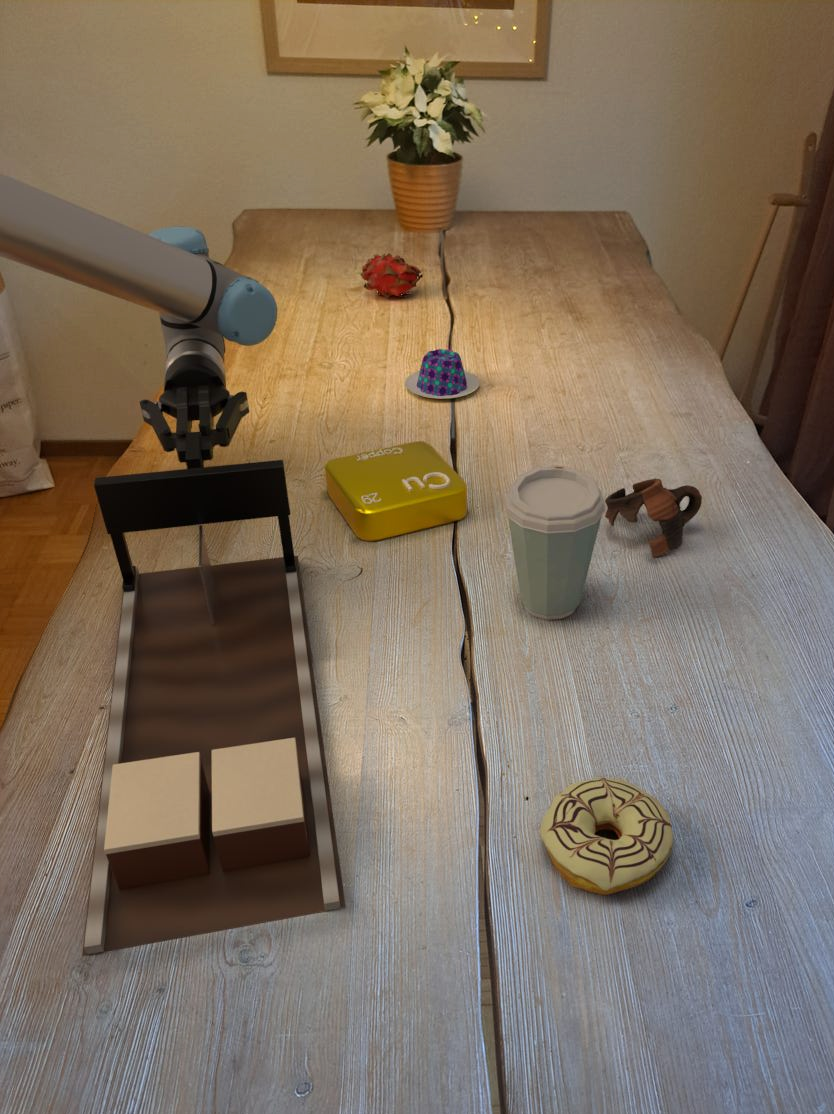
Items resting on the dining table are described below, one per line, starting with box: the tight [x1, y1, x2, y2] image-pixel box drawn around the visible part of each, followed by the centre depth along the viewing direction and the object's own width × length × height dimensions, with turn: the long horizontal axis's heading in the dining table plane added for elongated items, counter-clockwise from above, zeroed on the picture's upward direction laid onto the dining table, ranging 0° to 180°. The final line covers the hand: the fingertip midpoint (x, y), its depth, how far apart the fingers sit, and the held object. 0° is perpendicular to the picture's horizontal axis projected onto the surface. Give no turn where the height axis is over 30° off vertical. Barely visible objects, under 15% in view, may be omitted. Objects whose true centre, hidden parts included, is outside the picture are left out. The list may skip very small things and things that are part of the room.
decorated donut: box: [539, 777, 674, 896], centre depth 78 cm, size 10×11×4 cm
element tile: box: [324, 440, 468, 542], centre depth 121 cm, size 15×15×5 cm
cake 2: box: [212, 738, 310, 871], centre depth 78 cm, size 9×7×5 cm
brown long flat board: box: [81, 555, 346, 957], centre depth 90 cm, size 50×20×2 cm, turn 13°
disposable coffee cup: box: [502, 465, 606, 621], centre depth 101 cm, size 11×11×15 cm
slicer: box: [93, 459, 296, 624], centre depth 100 cm, size 11×19×14 cm, turn 103°
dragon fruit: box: [360, 252, 423, 299], centre depth 181 cm, size 8×8×12 cm
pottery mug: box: [604, 478, 703, 558], centre depth 116 cm, size 12×10×8 cm
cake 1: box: [104, 752, 210, 889], centre depth 77 cm, size 9×7×5 cm
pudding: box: [404, 348, 481, 400], centre depth 149 cm, size 12×12×5 cm
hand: (194, 470), depth 102 cm, fingers closed
